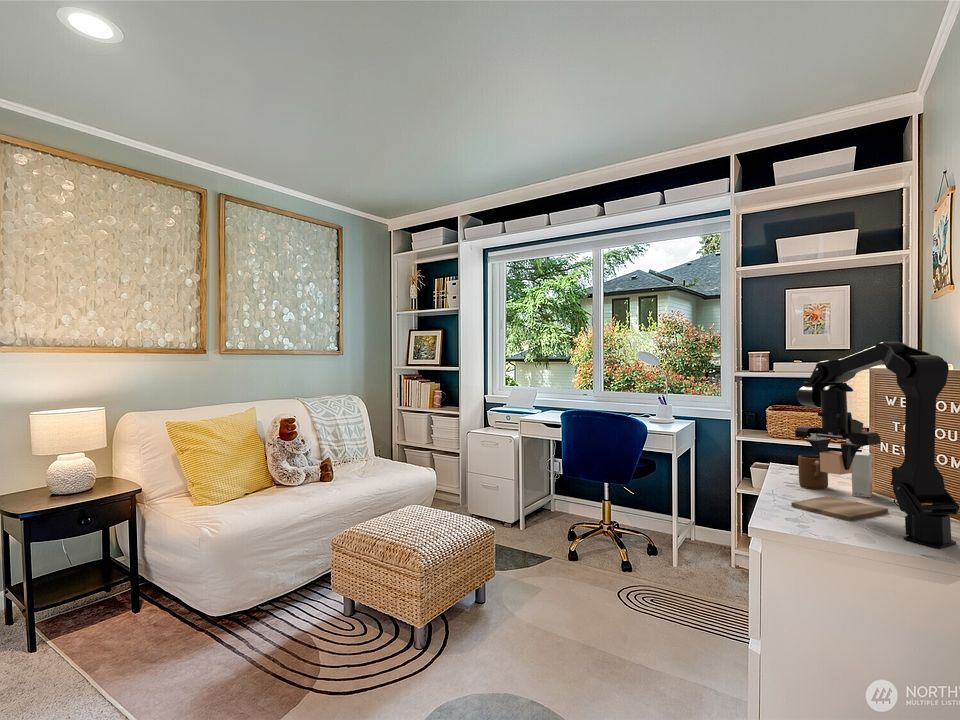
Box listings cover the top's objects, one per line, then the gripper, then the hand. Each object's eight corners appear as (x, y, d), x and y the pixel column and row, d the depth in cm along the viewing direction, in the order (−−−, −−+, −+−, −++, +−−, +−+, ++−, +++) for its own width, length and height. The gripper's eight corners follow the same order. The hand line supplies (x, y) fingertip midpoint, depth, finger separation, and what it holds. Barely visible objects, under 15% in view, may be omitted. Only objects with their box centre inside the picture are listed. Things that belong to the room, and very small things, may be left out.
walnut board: (888, 512, 129) (887, 508, 129) (849, 521, 124) (849, 516, 124) (828, 499, 143) (828, 495, 143) (791, 506, 138) (791, 502, 138)
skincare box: (870, 498, 143) (868, 455, 143) (852, 496, 146) (850, 454, 146) (873, 493, 147) (871, 452, 148) (855, 491, 150) (853, 451, 150)
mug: (836, 494, 148) (835, 461, 149) (806, 492, 151) (805, 461, 151) (824, 484, 160) (823, 454, 160) (796, 483, 162) (795, 454, 162)
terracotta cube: (852, 472, 132) (851, 453, 132) (839, 474, 130) (839, 455, 130) (833, 469, 137) (832, 450, 137) (820, 471, 135) (819, 452, 135)
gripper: (893, 409, 128) (895, 471, 128) (819, 404, 146) (821, 459, 145) (864, 411, 124) (867, 475, 124) (792, 407, 141) (794, 463, 141)
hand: (836, 468), depth 134 cm, fingers closed on terracotta cube, 5 cm apart
